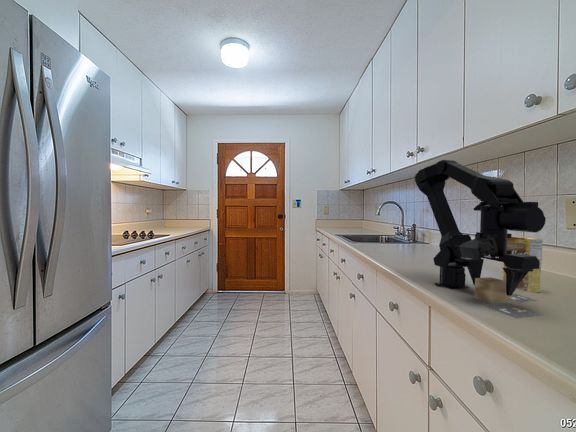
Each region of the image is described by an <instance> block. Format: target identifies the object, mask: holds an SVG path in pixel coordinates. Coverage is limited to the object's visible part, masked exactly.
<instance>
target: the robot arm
mask: <svg viewBox="0 0 576 432" xmlns="http://www.w3.org/2000/svg"><path fill="white" fill-rule="evenodd" d="M450 178H451V179H452V180H454V181H456V182H457V183H460V184H461V185H464V186H466V187H467V188H469V190H470V192H471V194H472V195H473V196H475V198H477V199H478V200H479V201H480V202H479V203H478V204H477V205H476V206H474V208H473V211H475V212H476V211H478V212H480V221H479V223H480V226H479V232H475V235H474V239H472V237H471V235H470V234H469V233H468V234H463V233H462V232H461V231H460V230H459V227H458V224H457V223H456V222H457V221H456V219H455V217H454V214H453V212H452V210H451V207H450V205H449V202H448V200H447V197H446V195H445V191H444V190H445V188H446V187H445V186H446V181H447V180H449V179H450ZM414 181H415V182H414V183H415V185H416V186H417V188H418V189H419V191H420V192H421V193H422V194H424V196H426V198H427V200H428V203H429V206H430V208H431V210H432V215H433V216H434V220H435V222H436V225H437V227H438V230H439V234H440V235H441V236H440V240H439V245H438V246H439V250H440V251H439V252H438V253H437V254H436V255H435V256H434V257H433V263H434V266H437V267H439V281H438V282H437V281H436V282H435V283H434V284H435V285H437V286H439V287H442V288H447V289H449V290H455V289H456V290H457V289H468V288H470V287H469V286H467V285H466V273H465V271H466V270H465V269H467V270H468V272H469V273H468V274H469V275H470V278H471V281H472V284H473V286H475V278H481V276H482V271H483V266H484V260H485V259H486V260H490V261H495V262H500V263H503V265H504V264H505V266H506V267H507V268H504V267H502V270H504V271H505V273H506V294H507V295H508V296H511V295H512V294H514V292H515V290H517V289H518V288H517V286H518V285H519V283H520V282H521V280H522V279H523V278H524V277H525V276H526V274H527V273H528V272H531V271H533V269H539V266H540V261H539V260H538V258H537V257H536V256H531V255H524V254H511V250H507V238H511V236H513V235H512V233H508V231H514V232H525V233H539V232H540V231H542V230H543V228H544V227H545V224H546V216H545V214H544V211H543V210H542V208H540V207H539V202H538V201H523V199H522V198H521V196H520V195H519V193H518V192H517V191H516V189H515V186H514V182H512V181H511V180H510V179H505V178H501V177H495V176H489V175H484V174H482V173H480V172H478V171H475V170H474V169H471V168H469V167H467V166H465V165H463V164H460V163H459V162H457V161H456V160H452V159H451V160H450V159H442V160H439V161H437V162H436V163H434V164H431V165H428V166H426V167H424V168H422V169H420V170H418V171H417V173H416V174H415V176H414ZM507 254H508V255H507Z"/></svg>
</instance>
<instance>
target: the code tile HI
mask: <svg viewBox="0 0 576 432" xmlns="http://www.w3.org/2000/svg"><path fill="white" fill-rule="evenodd" d="M508 300H511V301H515V302H518V303H529V302H530V303H531V302H538V301H539V300H537V299H534V298H531V297H527V296H523V295H521V294H517V293H513V294H512V295H511V296H508Z"/></svg>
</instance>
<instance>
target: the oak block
mask: <svg viewBox="0 0 576 432" xmlns="http://www.w3.org/2000/svg"><path fill="white" fill-rule="evenodd" d="M474 297H476V298H475V299H477V298H479V299H481V300H480V301H482V300H484V301H483V302H485V301H487V302H486V303H488V302H490V303H489V304H491V303H500V304H502V303H501V302H508V301H509V299H508V295H507V294H506V281H503V279H499V278H496V277H492V276H488V277H480V278H475V285H474ZM479 299H478V300H479Z"/></svg>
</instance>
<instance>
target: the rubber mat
mask: <svg viewBox="0 0 576 432" xmlns="http://www.w3.org/2000/svg"><path fill="white" fill-rule="evenodd" d="M473 298H474V299H477V300H479V301H483V302H486V303H488V304H490V305H499V304H512V301H509V300H508V302H501V303H490V302H487V301H484V300H481V299H479V298H476V297H475V296H473Z"/></svg>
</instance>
